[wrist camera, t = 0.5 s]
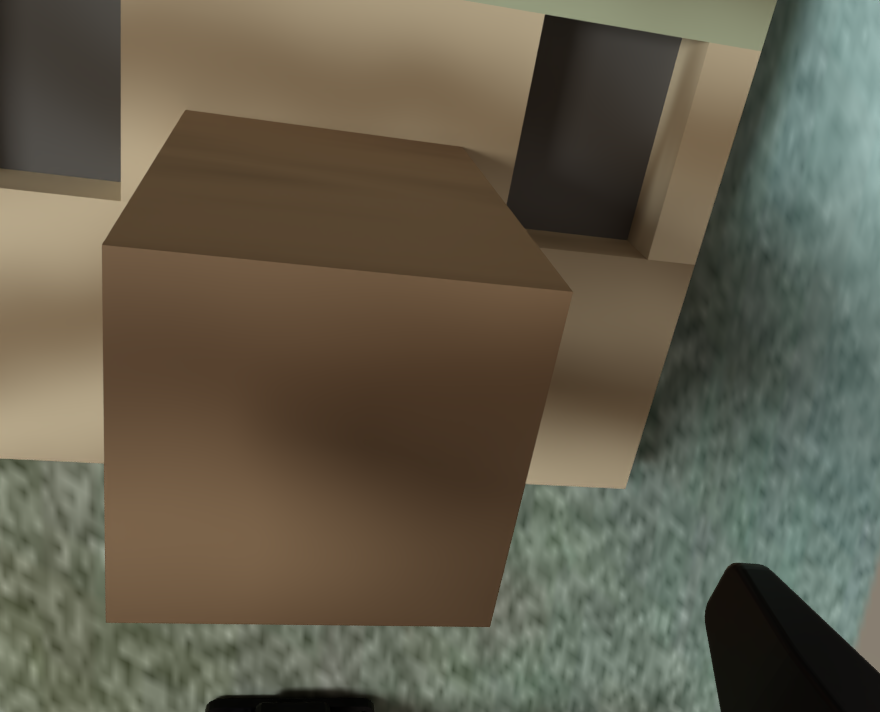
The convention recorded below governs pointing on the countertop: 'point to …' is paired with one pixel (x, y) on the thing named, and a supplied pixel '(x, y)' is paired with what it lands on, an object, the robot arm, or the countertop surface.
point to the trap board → (391, 115)
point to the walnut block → (318, 380)
